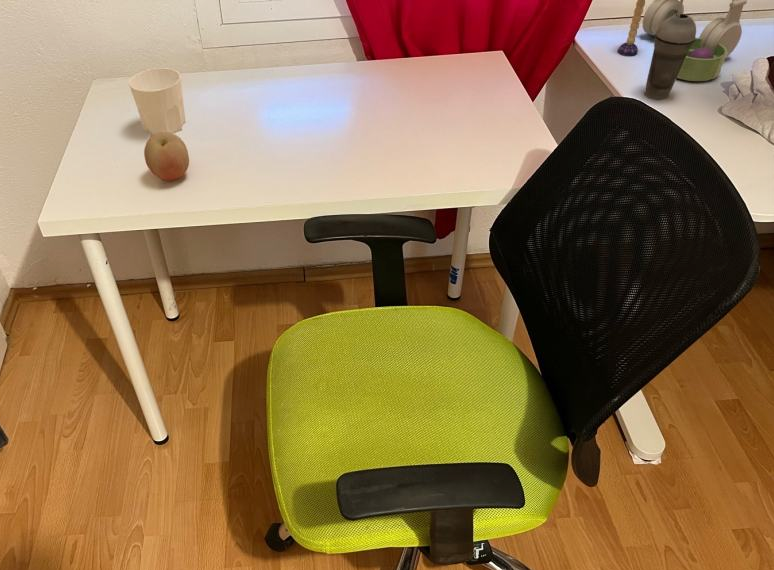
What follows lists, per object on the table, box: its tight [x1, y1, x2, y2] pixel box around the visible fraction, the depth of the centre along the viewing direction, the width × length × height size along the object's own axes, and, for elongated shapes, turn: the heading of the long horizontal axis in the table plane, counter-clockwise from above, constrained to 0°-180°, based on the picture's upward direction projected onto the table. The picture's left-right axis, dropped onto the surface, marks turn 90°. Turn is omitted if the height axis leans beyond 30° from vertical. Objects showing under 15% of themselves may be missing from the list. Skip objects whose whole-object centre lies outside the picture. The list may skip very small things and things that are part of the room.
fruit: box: [143, 132, 190, 182], centre depth 124 cm, size 8×8×8 cm
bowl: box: [676, 37, 727, 82], centre depth 144 cm, size 11×11×5 cm
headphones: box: [642, 0, 748, 59], centre depth 147 cm, size 20×8×19 cm, turn 28°
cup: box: [128, 67, 187, 136], centre depth 137 cm, size 10×10×10 cm
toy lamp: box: [617, 0, 646, 57], centre depth 148 cm, size 5×5×17 cm
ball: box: [688, 48, 714, 59], centre depth 143 cm, size 5×5×5 cm
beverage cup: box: [644, 0, 697, 100], centre depth 133 cm, size 7×7×20 cm
